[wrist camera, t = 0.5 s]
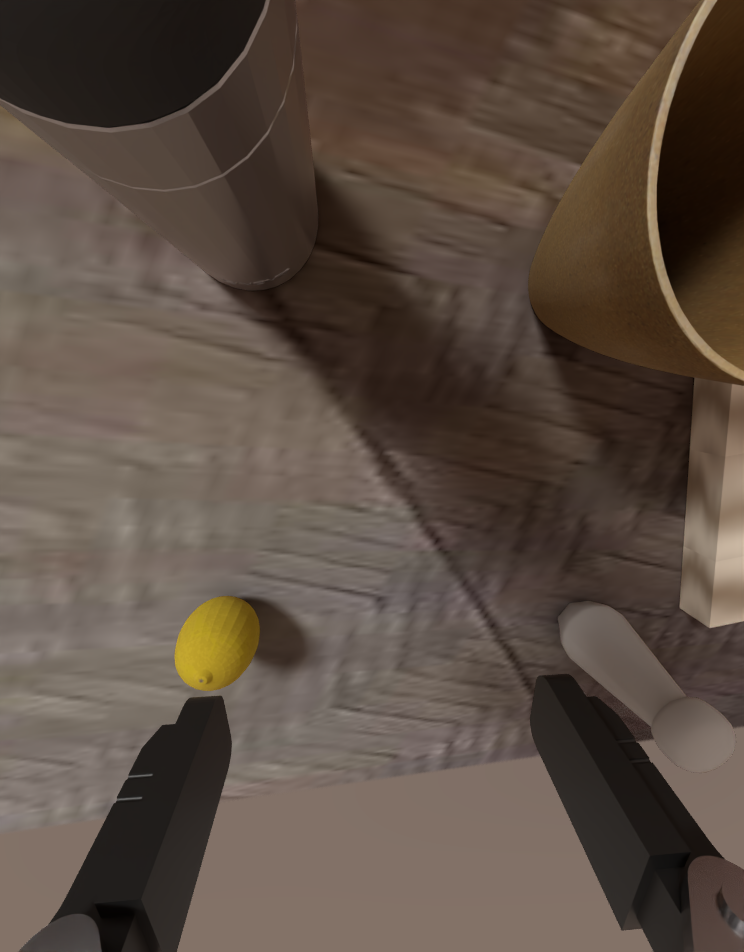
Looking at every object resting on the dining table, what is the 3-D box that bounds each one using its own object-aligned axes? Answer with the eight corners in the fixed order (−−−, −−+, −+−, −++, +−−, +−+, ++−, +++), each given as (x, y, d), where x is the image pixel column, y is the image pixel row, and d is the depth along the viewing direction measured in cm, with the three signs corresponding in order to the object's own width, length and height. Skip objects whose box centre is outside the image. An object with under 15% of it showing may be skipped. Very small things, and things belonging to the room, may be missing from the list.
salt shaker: (586, 579, 34) (731, 697, 21) (619, 617, 35) (774, 748, 23) (536, 621, 35) (649, 758, 22) (570, 656, 36) (695, 805, 23)
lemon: (280, 600, 32) (263, 672, 24) (242, 646, 33) (213, 730, 25) (224, 565, 30) (186, 628, 23) (186, 614, 31) (137, 691, 24)
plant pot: (655, 127, 25) (1147, -260, 10) (680, 346, 29) (1059, 312, 14) (448, 202, 25) (621, -67, 10) (501, 412, 29) (683, 449, 14)
